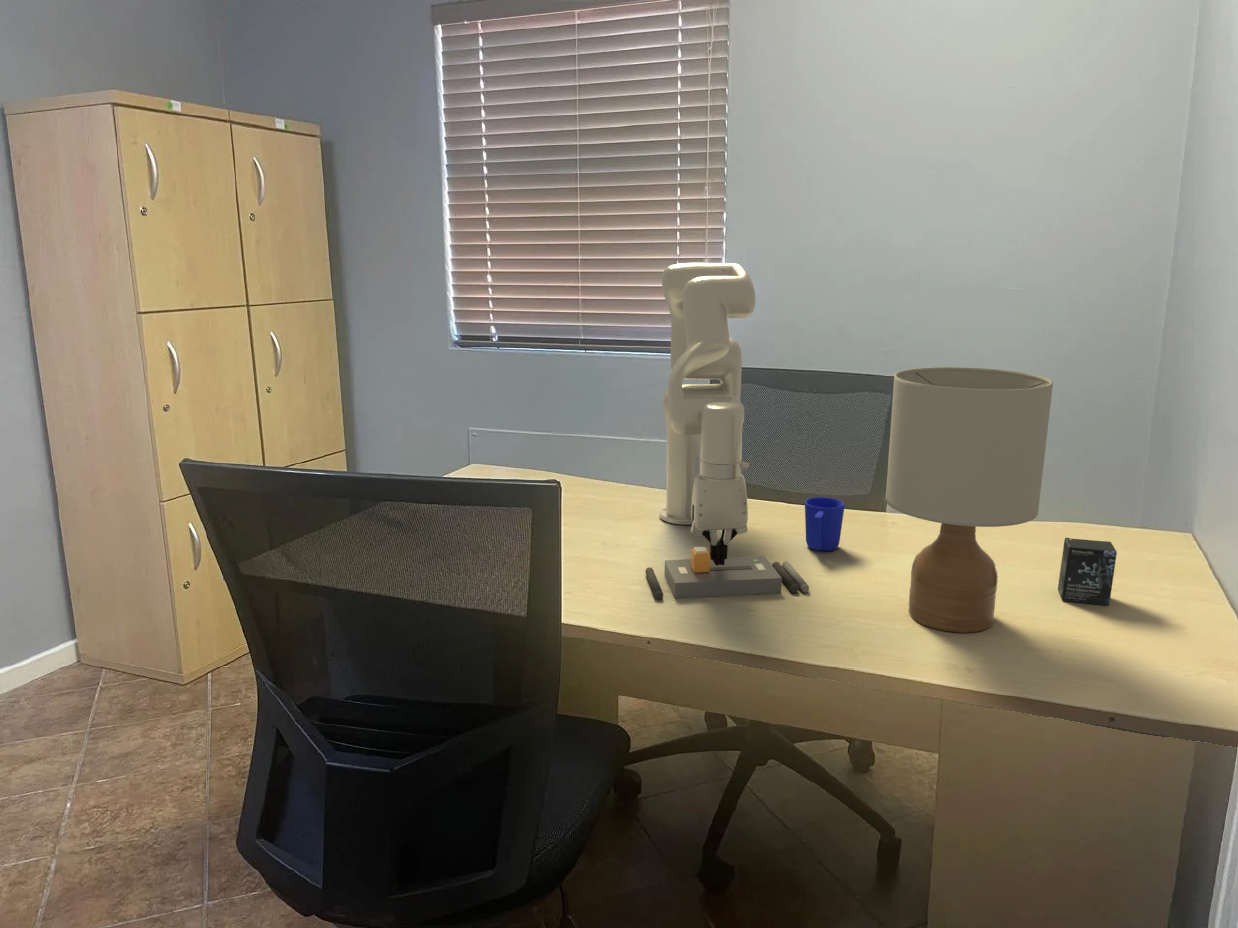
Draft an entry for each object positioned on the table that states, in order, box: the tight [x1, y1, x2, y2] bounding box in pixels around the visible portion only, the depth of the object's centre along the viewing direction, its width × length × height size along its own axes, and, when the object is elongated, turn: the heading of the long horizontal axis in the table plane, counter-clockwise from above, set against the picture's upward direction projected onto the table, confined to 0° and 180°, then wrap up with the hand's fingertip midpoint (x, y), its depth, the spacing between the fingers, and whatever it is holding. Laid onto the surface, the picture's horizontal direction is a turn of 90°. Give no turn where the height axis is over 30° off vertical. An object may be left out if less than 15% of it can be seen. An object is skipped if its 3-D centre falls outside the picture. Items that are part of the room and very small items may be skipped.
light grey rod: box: [781, 560, 810, 593], centre depth 174 cm, size 14×2×2 cm, turn 6°
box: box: [1057, 537, 1118, 607], centre depth 163 cm, size 8×6×11 cm
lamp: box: [885, 366, 1054, 634], centre depth 152 cm, size 24×24×42 cm
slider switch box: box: [664, 555, 783, 599], centre depth 172 cm, size 12×20×3 cm, turn 96°
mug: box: [804, 496, 846, 552], centre depth 189 cm, size 8×12×10 cm
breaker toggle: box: [690, 546, 710, 573], centre depth 171 cm, size 4×3×4 cm
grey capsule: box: [771, 561, 800, 594], centre depth 174 cm, size 14×2×2 cm, turn 6°
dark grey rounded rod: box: [645, 567, 664, 600], centre depth 171 cm, size 14×2×2 cm, turn 6°
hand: (718, 562), depth 171 cm, fingers closed
